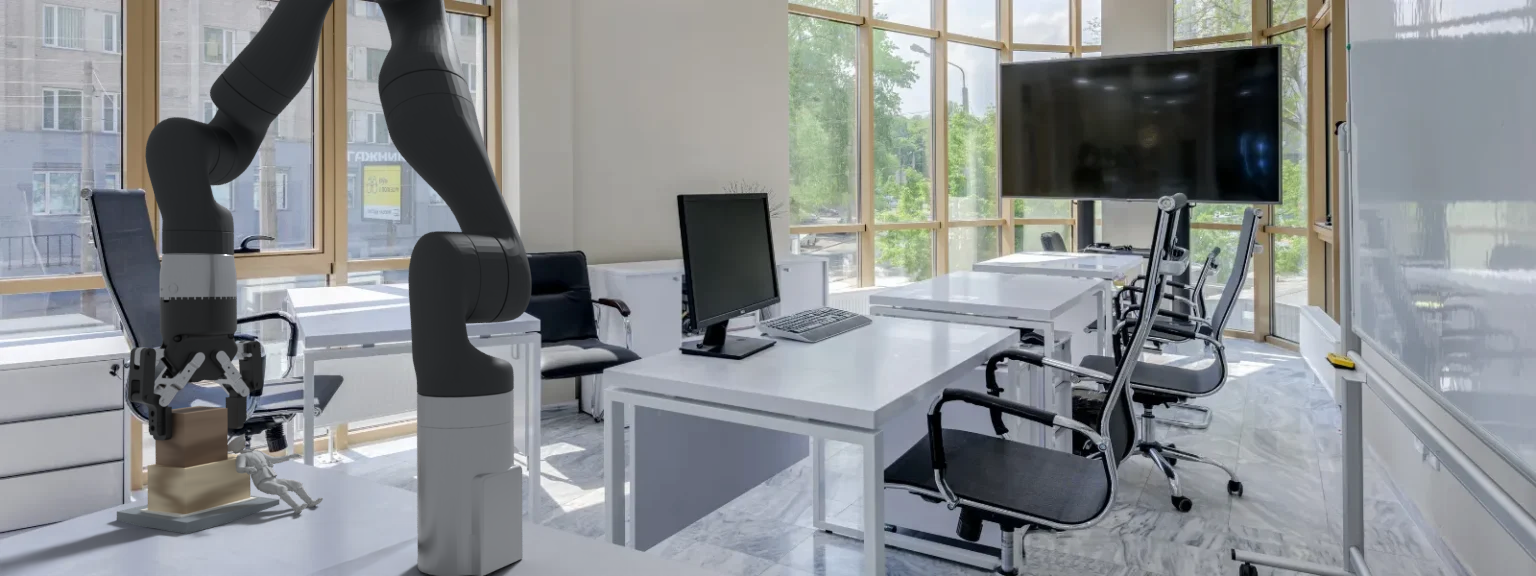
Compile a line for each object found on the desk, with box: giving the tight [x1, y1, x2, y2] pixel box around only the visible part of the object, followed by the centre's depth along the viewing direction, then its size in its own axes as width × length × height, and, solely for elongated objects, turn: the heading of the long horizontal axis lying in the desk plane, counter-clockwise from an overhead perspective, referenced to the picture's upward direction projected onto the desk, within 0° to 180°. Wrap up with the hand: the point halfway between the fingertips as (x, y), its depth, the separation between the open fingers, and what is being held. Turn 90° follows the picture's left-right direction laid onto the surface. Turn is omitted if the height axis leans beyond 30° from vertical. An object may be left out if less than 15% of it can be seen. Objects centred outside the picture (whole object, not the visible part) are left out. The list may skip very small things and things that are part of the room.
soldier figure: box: [228, 433, 324, 515], centre depth 103 cm, size 8×5×12 cm
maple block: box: [147, 453, 251, 514], centre depth 102 cm, size 6×8×5 cm
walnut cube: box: [154, 405, 229, 468], centre depth 101 cm, size 5×5×6 cm
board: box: [116, 495, 280, 535], centre depth 102 cm, size 12×11×1 cm
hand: (199, 433), depth 102 cm, fingers open, 8 cm apart
